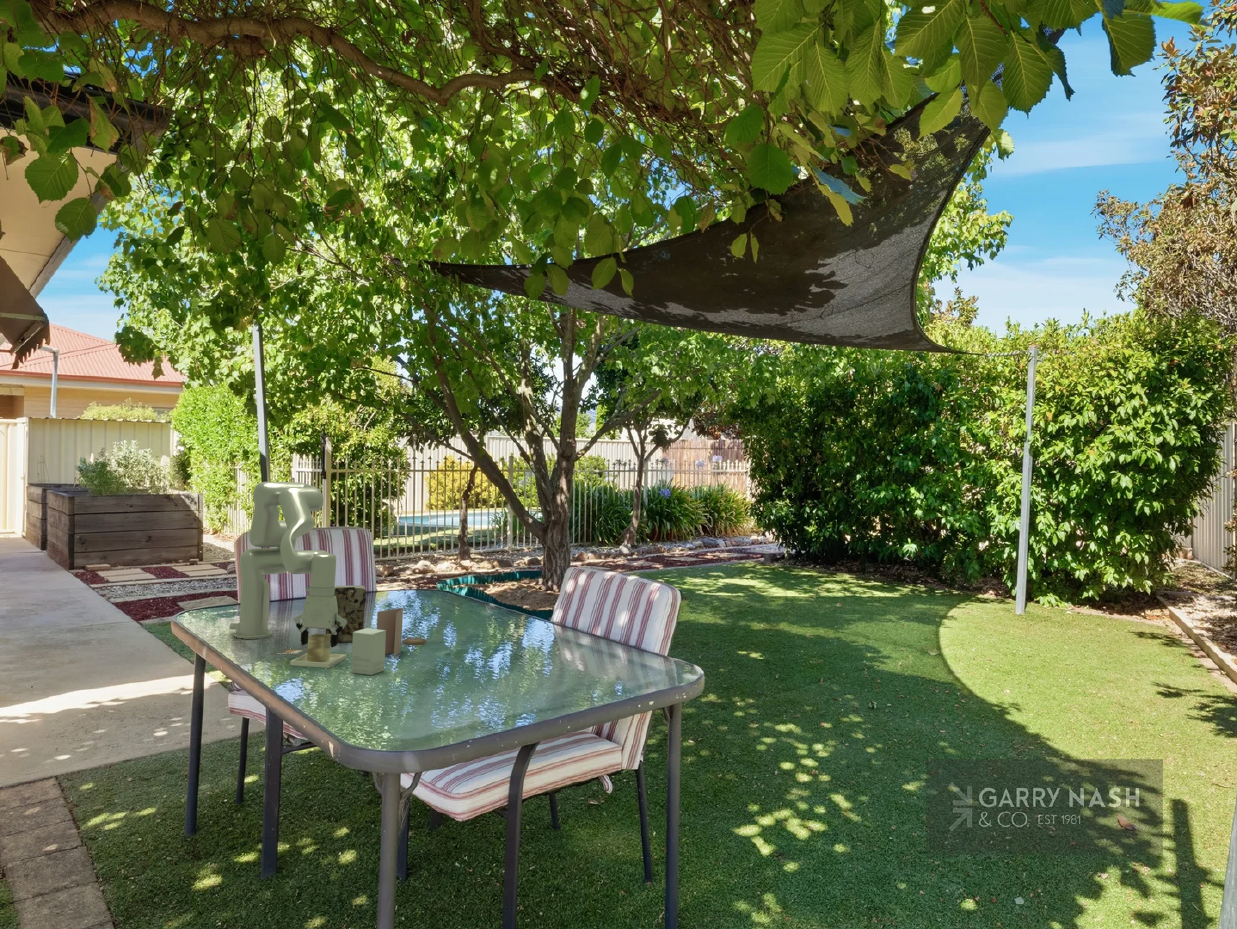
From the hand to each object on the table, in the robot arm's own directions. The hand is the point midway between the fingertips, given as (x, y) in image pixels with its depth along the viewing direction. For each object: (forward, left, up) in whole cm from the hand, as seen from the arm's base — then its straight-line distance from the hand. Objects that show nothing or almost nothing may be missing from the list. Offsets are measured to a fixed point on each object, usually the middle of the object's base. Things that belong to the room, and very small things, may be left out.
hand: (319, 645), depth 253 cm
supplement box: (+19, -7, -6) cm, 21 cm away
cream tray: (0, 0, -5) cm, 5 cm away
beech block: (0, 0, -5) cm, 5 cm away
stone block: (-5, +31, -6) cm, 32 cm away
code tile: (-14, +11, -5) cm, 18 cm away
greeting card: (+19, +16, -6) cm, 25 cm away
